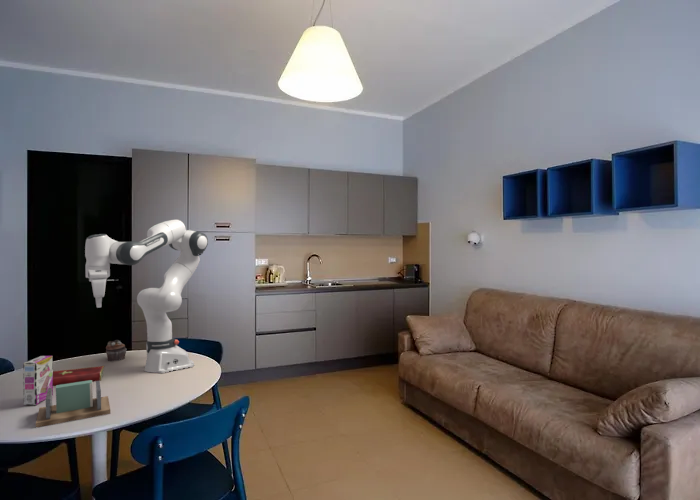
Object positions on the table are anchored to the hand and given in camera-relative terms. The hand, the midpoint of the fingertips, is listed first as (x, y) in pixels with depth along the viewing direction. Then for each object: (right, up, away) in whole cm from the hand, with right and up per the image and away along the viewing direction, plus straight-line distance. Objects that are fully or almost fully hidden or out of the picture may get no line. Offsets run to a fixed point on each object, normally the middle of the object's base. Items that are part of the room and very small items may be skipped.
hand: (98, 305), depth 184 cm
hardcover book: (-18, -36, +13) cm, 42 cm away
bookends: (+5, -34, -24) cm, 42 cm away
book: (+5, -34, -24) cm, 42 cm away
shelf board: (+5, -36, -24) cm, 43 cm away
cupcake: (-18, -34, +47) cm, 61 cm away
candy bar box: (-17, -36, -12) cm, 41 cm away
